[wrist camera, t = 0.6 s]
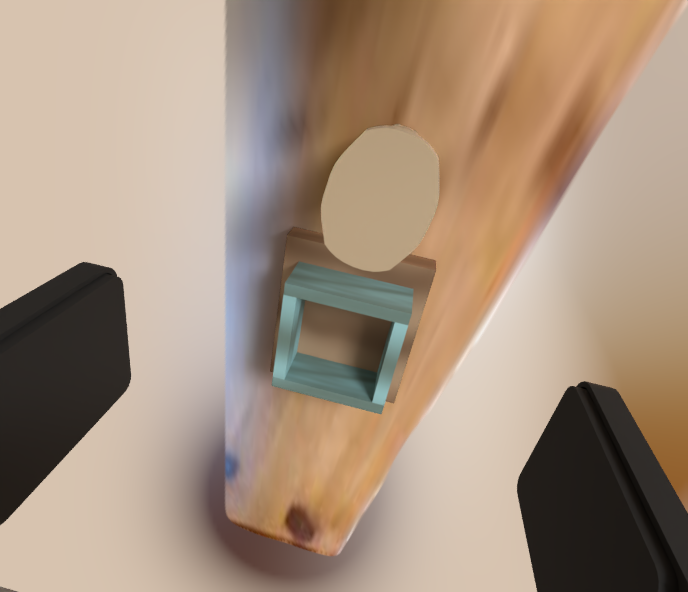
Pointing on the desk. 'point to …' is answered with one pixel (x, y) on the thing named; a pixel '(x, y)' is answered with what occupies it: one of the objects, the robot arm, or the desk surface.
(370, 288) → the teal open box
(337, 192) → the handle
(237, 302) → the desk surface
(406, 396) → the desk surface
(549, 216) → the desk surface
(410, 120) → the desk surface
